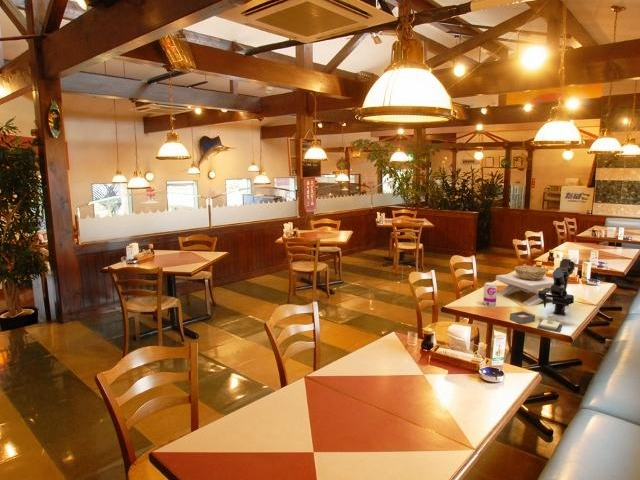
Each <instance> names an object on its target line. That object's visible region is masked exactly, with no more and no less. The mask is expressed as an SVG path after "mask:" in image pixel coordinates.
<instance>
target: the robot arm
mask: <svg viewBox="0 0 640 480" xmlns="http://www.w3.org/2000/svg"><path fill="white" fill-rule="evenodd" d="M575 269H576V264H575V262H573V261H572V259H568V258H562V259H561V260H560V261H559V267H556V268H555V269H554V270H553V272H552V278H553V280H554V284H553V285H551V294H547V293H546V291H542V289H539V290H540V291H539V292H538V295H539V298H540V299H541V300H543V301H542V302H543V307H544V309H546V306H547V299H546V298H547V297H552V300H551V301H552V302H551V304H552V305H554V311H553V314H552V315H560V316H566V313H567V312H566V307H569V306H570V305H571V304H574V303H575V297H574V295H573V294H568V291H567V287H568V283H569V279H570V276H571V275H572V274H573V273H574V271H575Z"/></svg>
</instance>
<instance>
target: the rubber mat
mask: <svg viewBox="0 0 640 480" xmlns="http://www.w3.org/2000/svg"><path fill="white" fill-rule="evenodd" d="M542 321H543V320H541V321H539V323H538V325H537V326H536V329H539V330H543V331H548V332H555V333H561V331H562V328H563V324H560V325H559V327H558V328H557V329H556V330H553V329H547V328H542V327H541V326H540V323H541V322H542Z"/></svg>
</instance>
